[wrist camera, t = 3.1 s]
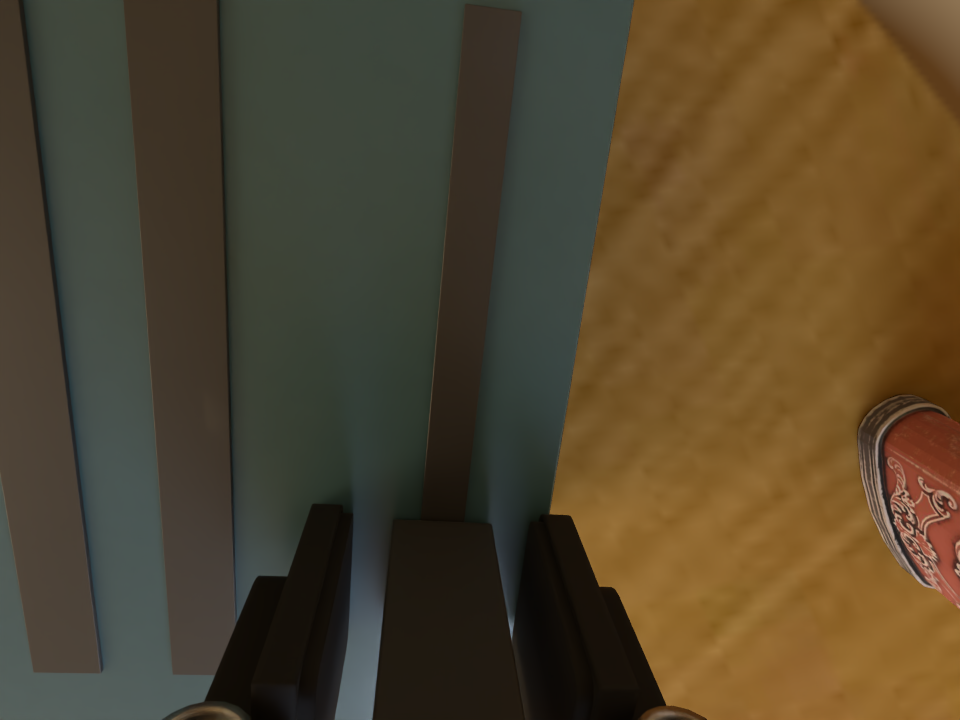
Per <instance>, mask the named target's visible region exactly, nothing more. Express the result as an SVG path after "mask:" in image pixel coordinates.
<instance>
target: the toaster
mask: <svg viewBox="0 0 960 720" xmlns="http://www.w3.org/2000/svg"><path fill="white" fill-rule="evenodd" d="M633 5H634V0H0V720H162V719H163V718H165V717H166V716H168V715H169V714H170V713H172V712H175V711H177V710H179V709H181V708H184V707H186V706H188V705H191V704H196V703H201V702H204V700H205V698H206V696H207V693H208V691H209V688H210V686H211V684H212V681H213V679H214V676H215V674H216V672H217V669H218V667H219V664H220V662H221V659H222V657H223V655H224V652H225V650H226V647H227V645H228V643H229V640H230V638H231V635H232V633H233V631H234V628H235V626H236V623H237V621H238V619H239V616H240V614H241V611H242V609H243V606H244V604H245V602H246V599H247V597H248V594H249V592H250V590H251V587H252V585H253V583H254V581H255V579H256V578H257V577H258V576H288V573H289V570H290V567H291V564H292V561H293V558H294V555H295V553H296V550H297V547H298V544H299V541H300V538H301V535H302V532H303V529H304V526H305V523H306V520H307V517H308V514H309V511H310V508H311V506H312V504H313V503H314V504H336V505H343V513H353V514H354V522H353V544H352V566H351V588H350V610H349V631H348V641H347V649H346V655H345V661H344V667H343V673H342V679H341V685H340V691H339V697H338V703H337V708H336V714H335V720H372V718H373V708H374V698H375V689H376V679H377V669H378V659H379V649H380V639H381V629H382V620H383V610H384V600H385V590H386V580H387V570H388V561H389V551H390V541H391V531H392V522H393V520H395V519H400V520H422V521H445V522H467V523H489V524H491V525H492V528H493V534H494V540H495V545H496V551H497V557H498V563H499V569H500V575H501V580H502V586H503V592H504V598H505V604H506V610H507V616H508V621H509V627H510V633H511V639H512V633H513V626H514V619H515V613H516V606H517V600H518V593H519V587H520V580H521V574H522V567H523V561H524V554H525V548H526V541H527V535H528V528H529V524H530V522H531V521H537V522H539V518H540V516H541V515H542V514H549V513H550V507H551V501H552V495H553V489H554V483H555V477H556V471H557V465H558V459H559V453H560V447H561V440H562V434H563V428H564V422H565V416H566V410H567V404H568V398H569V392H570V386H571V380H572V374H573V368H574V362H575V356H576V350H577V344H578V338H579V331H580V325H581V319H582V313H583V307H584V301H585V295H586V289H587V283H588V277H589V271H590V265H591V259H592V253H593V247H594V241H595V235H596V229H597V223H598V216H599V210H600V204H601V198H602V192H603V186H604V180H605V174H606V168H607V162H608V156H609V150H610V144H611V138H612V132H613V126H614V120H615V114H616V107H617V101H618V95H619V89H620V83H621V77H622V71H623V65H624V59H625V53H626V47H627V41H628V35H629V29H630V23H631V17H632V11H633Z"/></svg>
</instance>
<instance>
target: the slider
mask: <svg viewBox="0 0 960 720" xmlns="http://www.w3.org/2000/svg"><path fill="white" fill-rule="evenodd" d="M372 720H525V715H524V709H523V703H522V697H521V692H520V686H519V680H518V674H517V668H516V662H515V657H514V651H513V645H512V639H511V633H510V627H509V621H508V616H507V610H506V604H505V598H504V592H503V586H502V580H501V575H500V569H499V563H498V557H497V551H496V545H495V540H494V534H493V528H492V525H491V524H489V523H467V522H445V521H422V520H400V519H395V520H393V522H392V531H391V541H390V551H389V561H388V570H387V580H386V590H385V600H384V610H383V620H382V629H381V639H380V649H379V659H378V669H377V679H376V689H375V698H374V708H373V718H372Z"/></svg>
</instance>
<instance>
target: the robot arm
mask: <svg viewBox="0 0 960 720" xmlns="http://www.w3.org/2000/svg"><path fill="white" fill-rule="evenodd" d="M353 522H354V514H353V513H343V505H336V504H314V503H313V504H312V506H311V508H310V511H309V514H308V517H307V520H306V523H305V526H304V529H303V532H302V535H301V538H300V541H299V544H298V547H297V550H296V553H295V555H294V558H293V561H292V564H291V567H290V570H289V573H288V576H258V577H257V578H256V579H255V581H254V583H253V585H252V587H251V590H250V592H249V594H248V597H247V599H246V602H245V604H244V606H243V609H242V611H241V614H240V616H239V619H238V621H237V623H236V626H235V628H234V631H233V633H232V635H231V638H230V640H229V643H228V645H227V647H226V650H225V652H224V655H223V657H222V659H221V662H220V664H219V667H218V669H217V672H216V674H215V676H214V679H213V681H212V684H211V686H210V688H209V691H208V693H207V696H206V698H205V700H204V702H201V703H196V704H191V705H188V706H186V707H184V708H181V709H179V710H177V711H175V712H172V713H170V714H169V715H168V716H166V717H165V718H163V719H162V720H335V714H336V708H337V703H338V697H339V691H340V685H341V679H342V673H343V667H344V661H345V655H346V649H347V641H348V631H349V610H350V588H351V566H352V544H353ZM512 645H513V651H514V657H515V662H516V668H517V674H518V680H519V686H520V692H521V697H522V703H523V709H524V715H525V720H707V719H706V718H704V717H702V716H700V715H698V714H696V713H694V712H692V711H690V710H688V709H684V708H680V707H676V706H666V703H665V701H664V699H663V696H662V694H661V692H660V689H659V687H658V685H657V683H656V680H655V678H654V676H653V673H652V671H651V669H650V666H649V664H648V662H647V659H646V657H645V655H644V653H643V650H642V648H641V646H640V643H639V641H638V639H637V636H636V634H635V632H634V629H633V627H632V625H631V623H630V620H629V618H628V616H627V613H626V611H625V609H624V606H623V604H622V602H621V599H620V597H619V595H618V593H617V592H616V590H615V589H614V588H612V587H599V585H598V583H597V580H596V578H595V575H594V573H593V570H592V567H591V565H590V562H589V560H588V557H587V555H586V552H585V550H584V547H583V545H582V542H581V540H580V537H579V535H578V532H577V530H576V527H575V525H574V522H573V520H572V518H571V516H569V515H551V514H542V515H541V516H540V518H539V522H537V521H531V522H530V524H529V528H528V535H527V541H526V548H525V554H524V561H523V567H522V574H521V580H520V587H519V593H518V600H517V606H516V613H515V619H514V626H513V633H512Z"/></svg>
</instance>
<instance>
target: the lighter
mask: <svg viewBox="0 0 960 720" xmlns="http://www.w3.org/2000/svg"><path fill="white" fill-rule="evenodd" d="M858 448H859V458H860V469H861V477H862V481H863V485H864V489H865V493H866V497H867V501H868V505H869V509H870V512H871V514H872V516H873V518H874V520H875V523H876V525H877V527H878V529H879V531H880V534H881V536H882V538H883V540H884V542H885V543H886V545H887V546H888V548H889V549H890V551H891V552H892V554H893V555H894V557H895V558H896V560H897V561H898V563H899V564H900V566H901V567H903V568H904V569H905V570H906V571H907V572H908V573H909V574H911V575H912V576H913V577H914V578H915V579H916V580H918V581H919V582H920V583H921V584H922V585H924V586H925V587H929V588H934V589H937V590H938V591H939V592H940V593H941V594H943V595H944V596H945V597H946V598H947V599H948V600H950V601H951V602H952V603H953V604H954V605H955V606H957V607H958V608H959V609H960V423H958V422H956V421H954V420H952V419H951V418H950V416H949V414H948V413H947V412H946V411H945V410H944V409H943V408H941V407H939V406H937V405H935V404H933V403H931V402H929V401H927V400H925V399H923V398H920V397H917V396H914V395H898V396H896V397H893V398H890V399H887V400H885V401H883V402H882V403H880V404H879V405H877V406H876V407H874V408H873V409H872V410H871V411H870V412H869V413H868V414H867V416H866V417H865V418H864V420H863V422H862V423H861V425H860V427H859V431H858Z"/></svg>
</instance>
